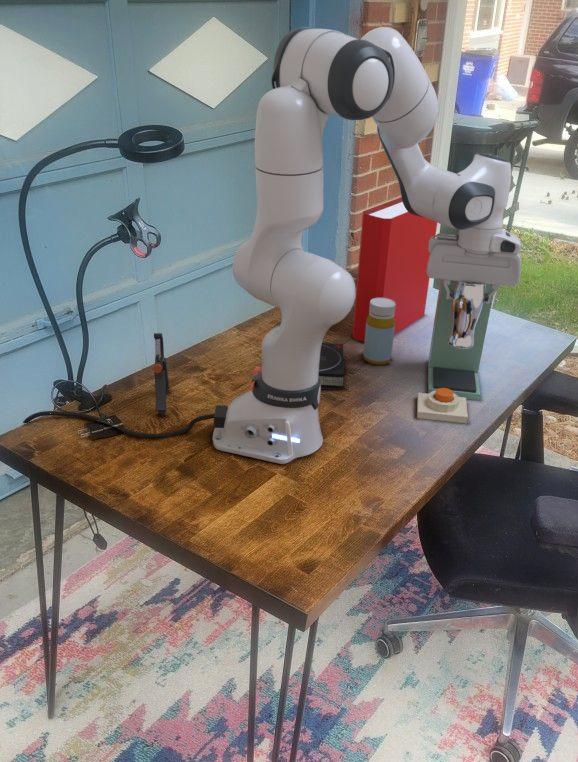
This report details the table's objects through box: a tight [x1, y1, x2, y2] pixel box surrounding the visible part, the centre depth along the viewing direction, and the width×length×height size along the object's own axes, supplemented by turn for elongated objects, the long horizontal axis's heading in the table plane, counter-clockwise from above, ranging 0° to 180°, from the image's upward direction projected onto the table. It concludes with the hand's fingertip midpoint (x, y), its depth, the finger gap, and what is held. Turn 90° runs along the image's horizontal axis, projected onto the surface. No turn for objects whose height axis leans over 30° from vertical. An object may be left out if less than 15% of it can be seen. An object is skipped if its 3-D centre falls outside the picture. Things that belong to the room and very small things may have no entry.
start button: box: [435, 388, 454, 403], centre depth 162 cm, size 4×4×2 cm
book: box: [352, 196, 438, 343], centre depth 191 cm, size 27×8×32 cm, turn 147°
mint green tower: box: [427, 279, 494, 401], centre depth 169 cm, size 13×18×27 cm
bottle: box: [362, 298, 396, 366], centre depth 178 cm, size 7×7×15 cm
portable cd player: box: [319, 342, 345, 391], centre depth 173 cm, size 16×17×4 cm
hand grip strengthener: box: [152, 332, 170, 416], centre depth 153 cm, size 2×12×15 cm, turn 9°
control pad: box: [416, 391, 469, 424], centre depth 163 cm, size 11×9×4 cm
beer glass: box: [447, 281, 486, 349], centre depth 163 cm, size 7×7×15 cm
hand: (468, 300), depth 161 cm, fingers closed on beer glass, 7 cm apart
